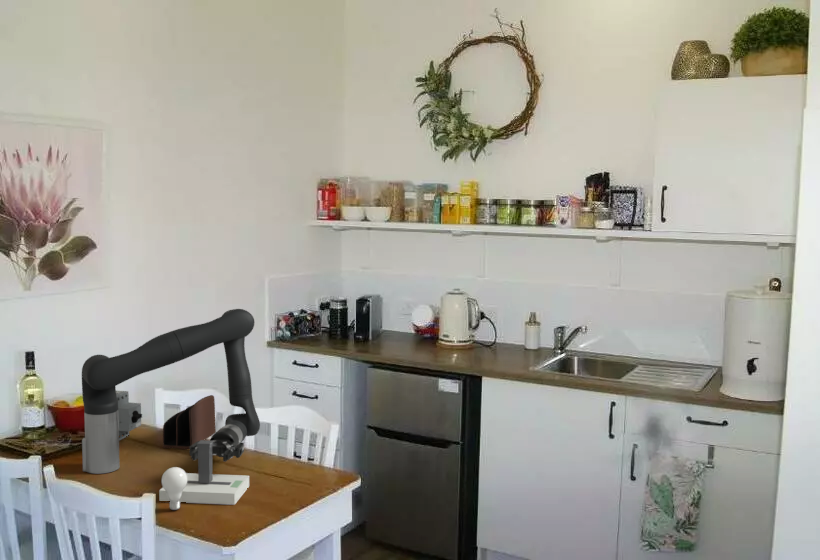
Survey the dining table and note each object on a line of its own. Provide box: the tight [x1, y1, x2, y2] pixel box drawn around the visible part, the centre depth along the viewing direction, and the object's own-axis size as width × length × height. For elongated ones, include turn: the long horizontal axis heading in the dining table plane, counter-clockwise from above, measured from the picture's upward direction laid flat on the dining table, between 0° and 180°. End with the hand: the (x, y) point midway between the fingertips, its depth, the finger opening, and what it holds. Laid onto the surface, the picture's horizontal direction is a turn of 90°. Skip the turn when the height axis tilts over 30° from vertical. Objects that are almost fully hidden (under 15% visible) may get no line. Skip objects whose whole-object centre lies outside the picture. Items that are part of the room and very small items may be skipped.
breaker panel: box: [158, 472, 250, 506], centre depth 220 cm, size 20×14×3 cm
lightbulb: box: [161, 466, 188, 511], centre depth 208 cm, size 6×6×11 cm
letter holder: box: [162, 394, 217, 450], centre depth 268 cm, size 10×20×14 cm, turn 172°
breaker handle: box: [197, 439, 213, 483], centre depth 219 cm, size 3×3×11 cm
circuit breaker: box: [116, 390, 143, 441], centre depth 269 cm, size 8×14×15 cm, turn 78°
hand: (209, 457), depth 222 cm, fingers open, 8 cm apart
